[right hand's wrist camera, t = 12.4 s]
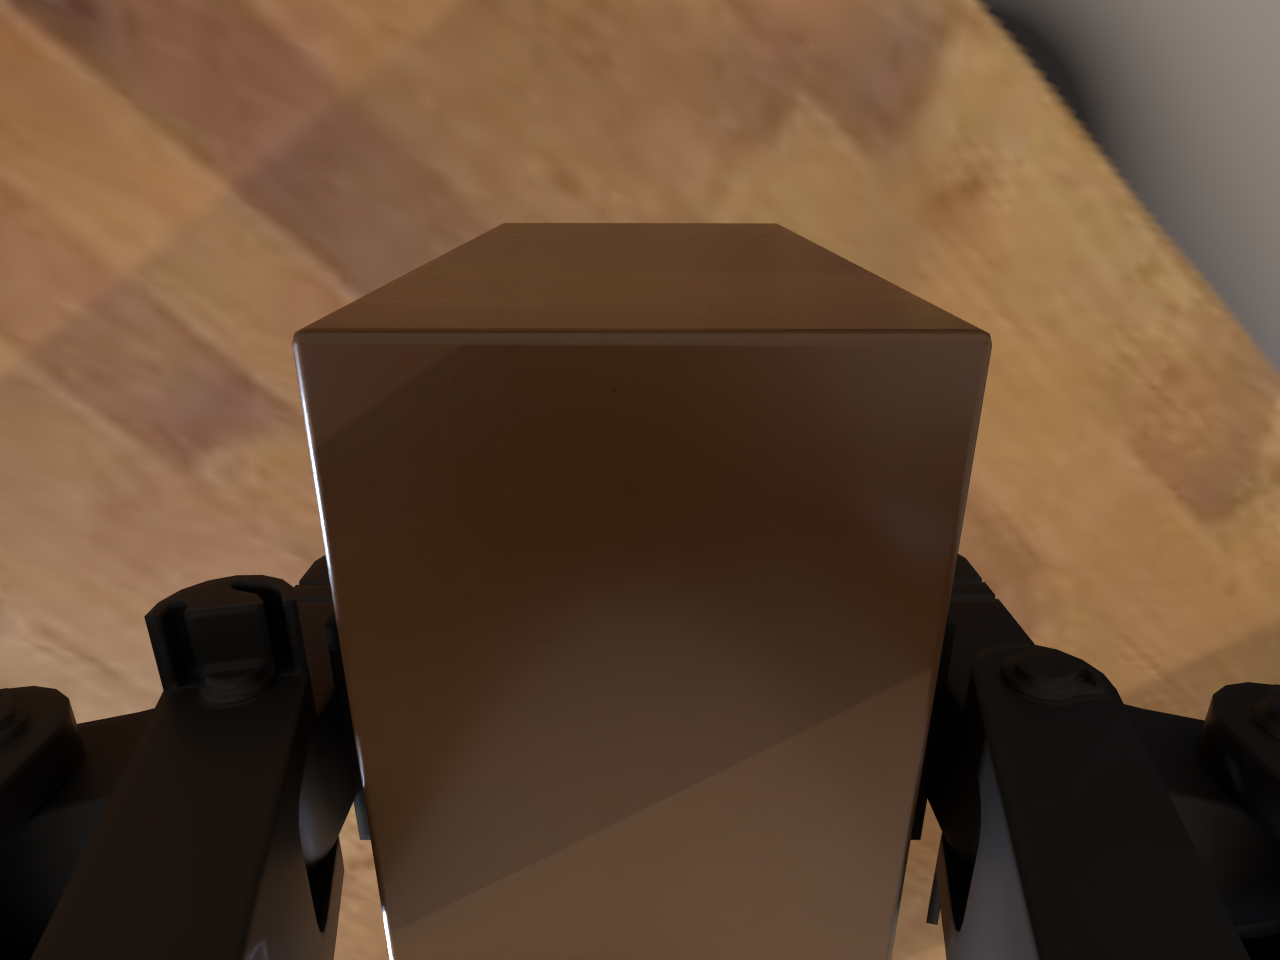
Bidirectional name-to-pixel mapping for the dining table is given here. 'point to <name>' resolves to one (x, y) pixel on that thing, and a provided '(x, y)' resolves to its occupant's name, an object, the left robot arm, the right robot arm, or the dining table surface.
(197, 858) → the right robot arm
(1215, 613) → the dining table surface
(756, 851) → the beam
